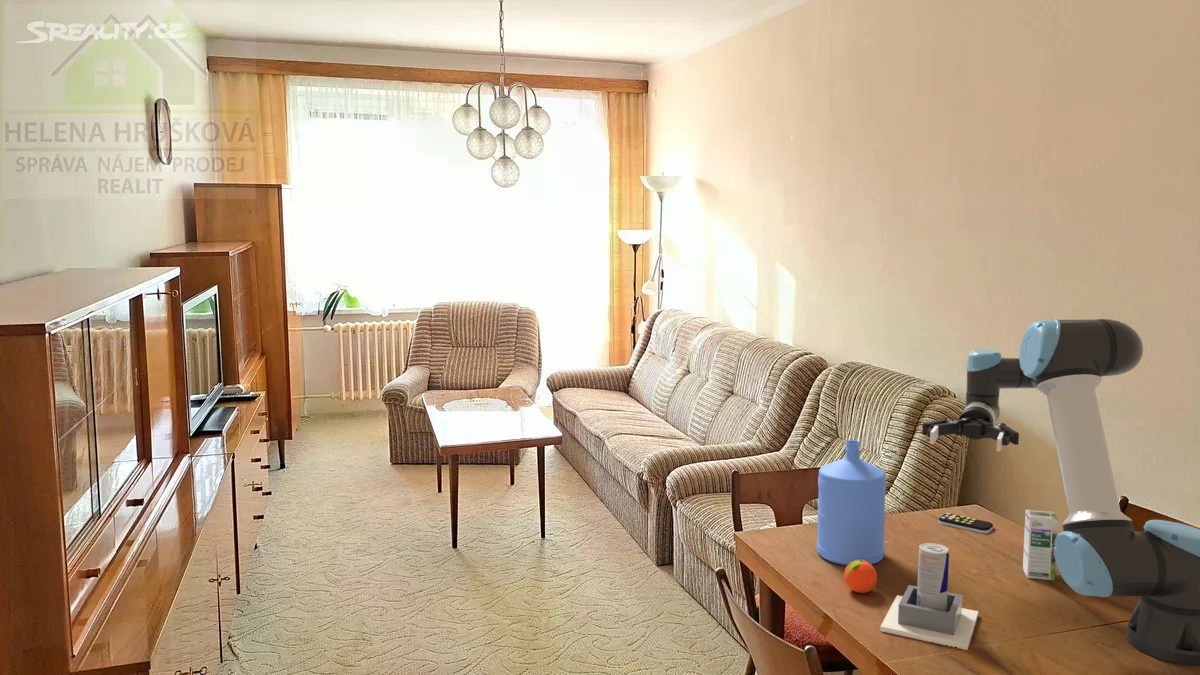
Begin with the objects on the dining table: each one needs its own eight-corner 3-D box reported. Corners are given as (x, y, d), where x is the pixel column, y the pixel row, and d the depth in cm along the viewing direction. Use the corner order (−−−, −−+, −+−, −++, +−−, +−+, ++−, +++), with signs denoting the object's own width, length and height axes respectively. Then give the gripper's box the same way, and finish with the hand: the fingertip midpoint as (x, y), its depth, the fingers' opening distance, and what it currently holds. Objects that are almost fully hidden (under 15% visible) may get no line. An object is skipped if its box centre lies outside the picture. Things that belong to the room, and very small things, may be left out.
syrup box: (1026, 578, 193) (1030, 516, 191) (1022, 568, 199) (1025, 508, 197) (1054, 581, 192) (1058, 518, 190) (1049, 571, 197) (1053, 510, 195)
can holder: (978, 615, 176) (979, 592, 175) (967, 650, 162) (968, 625, 161) (896, 599, 184) (897, 577, 183) (880, 631, 170) (881, 607, 169)
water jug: (874, 572, 198) (878, 454, 194) (807, 559, 206) (810, 445, 202) (890, 549, 211) (894, 438, 207) (827, 538, 219) (829, 431, 215)
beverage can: (948, 626, 169) (951, 553, 167) (918, 624, 171) (921, 551, 169) (943, 613, 175) (946, 543, 173) (914, 611, 176) (917, 541, 174)
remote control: (986, 536, 220) (987, 528, 220) (936, 524, 229) (937, 517, 228) (994, 529, 225) (994, 522, 225) (945, 518, 233) (945, 511, 233)
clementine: (858, 602, 183) (859, 570, 182) (833, 591, 189) (834, 560, 188) (883, 593, 187) (884, 561, 186) (858, 582, 193) (858, 551, 192)
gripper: (1033, 442, 201) (1027, 465, 183) (921, 430, 213) (904, 451, 195) (1035, 410, 200) (1028, 431, 182) (922, 401, 212) (905, 419, 194)
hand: (964, 441), depth 188 cm, fingers open, 13 cm apart
